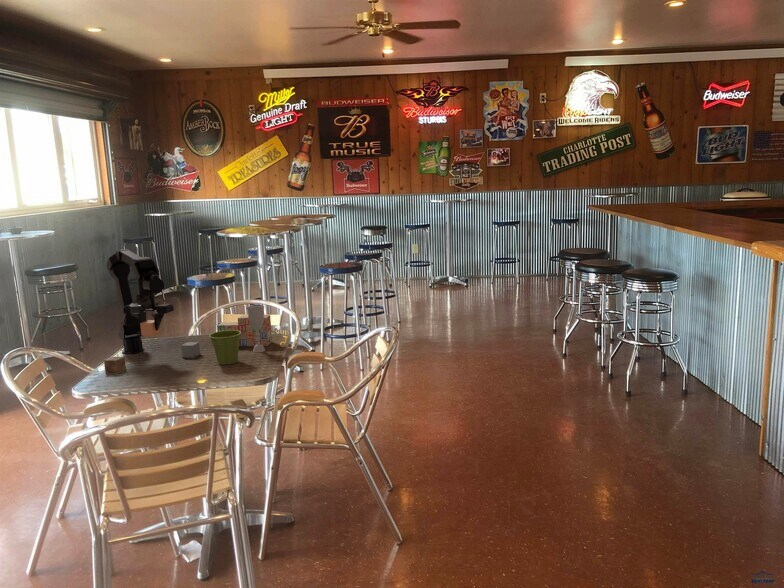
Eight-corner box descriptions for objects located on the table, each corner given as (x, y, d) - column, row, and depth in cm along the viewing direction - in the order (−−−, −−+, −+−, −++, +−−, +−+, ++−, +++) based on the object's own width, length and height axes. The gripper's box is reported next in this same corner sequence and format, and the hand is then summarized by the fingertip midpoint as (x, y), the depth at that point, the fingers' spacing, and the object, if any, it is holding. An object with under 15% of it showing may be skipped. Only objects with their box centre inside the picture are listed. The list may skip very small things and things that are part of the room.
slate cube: (182, 357, 240) (181, 345, 239) (189, 354, 245) (187, 342, 244) (193, 357, 239) (192, 345, 238) (200, 354, 244) (199, 342, 243)
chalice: (247, 352, 242) (243, 308, 239) (253, 348, 249) (250, 305, 246) (264, 353, 241) (260, 308, 238) (270, 348, 248) (267, 305, 244)
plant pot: (219, 358, 236) (217, 330, 234) (248, 358, 235) (246, 329, 233) (206, 367, 225) (203, 337, 223) (236, 367, 223) (233, 337, 221)
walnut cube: (105, 373, 223) (103, 360, 222) (114, 369, 228) (112, 356, 227) (117, 373, 222) (115, 360, 221) (126, 369, 226) (124, 356, 226)
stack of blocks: (218, 346, 254) (216, 318, 252) (224, 343, 261) (221, 315, 258) (268, 346, 252) (266, 317, 250) (272, 342, 259) (270, 314, 256)
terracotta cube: (141, 335, 234) (140, 323, 233) (149, 332, 239) (148, 320, 238) (153, 335, 233) (151, 323, 232) (160, 332, 238) (159, 320, 237)
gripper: (111, 294, 227) (116, 335, 230) (155, 294, 223) (160, 335, 226) (129, 289, 238) (134, 328, 241) (172, 289, 234) (176, 328, 237)
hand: (150, 330), depth 236 cm, fingers closed on terracotta cube, 5 cm apart
